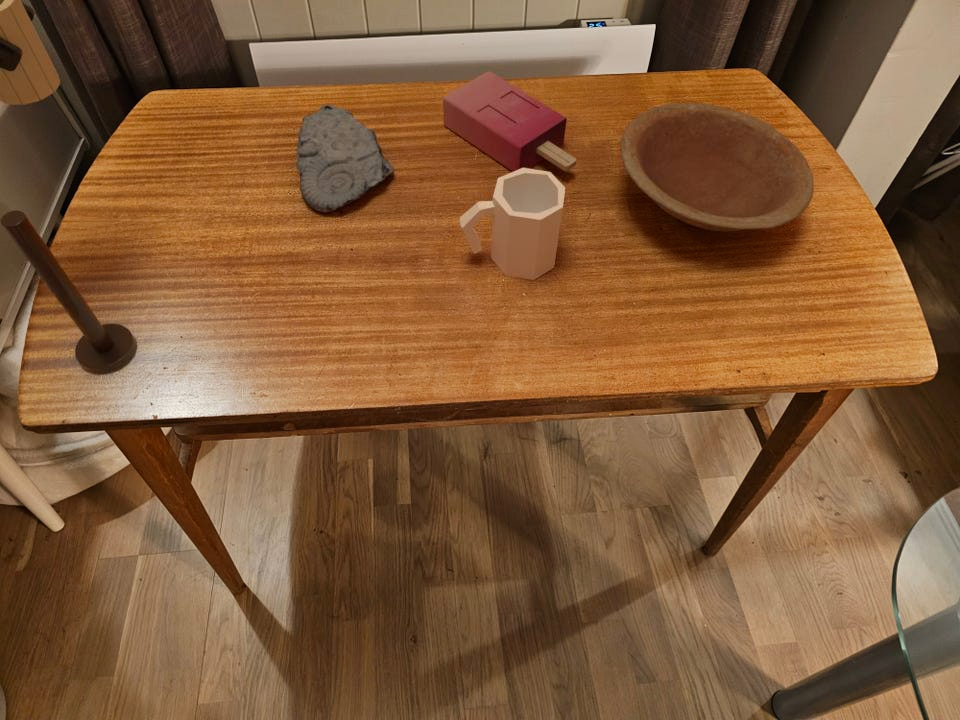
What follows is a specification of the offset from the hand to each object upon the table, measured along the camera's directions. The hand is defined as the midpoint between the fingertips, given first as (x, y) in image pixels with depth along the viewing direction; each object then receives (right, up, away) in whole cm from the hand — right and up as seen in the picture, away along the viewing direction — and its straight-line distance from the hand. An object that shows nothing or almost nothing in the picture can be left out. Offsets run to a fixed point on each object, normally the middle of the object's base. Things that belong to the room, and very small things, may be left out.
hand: (24, 40), depth 62 cm
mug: (+43, -15, +25) cm, 52 cm away
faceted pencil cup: (-2, -3, +3) cm, 5 cm away
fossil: (+22, -2, +34) cm, 40 cm away
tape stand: (-1, -27, +16) cm, 31 cm away
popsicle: (+45, +2, +37) cm, 58 cm away
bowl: (+69, -7, +31) cm, 76 cm away
